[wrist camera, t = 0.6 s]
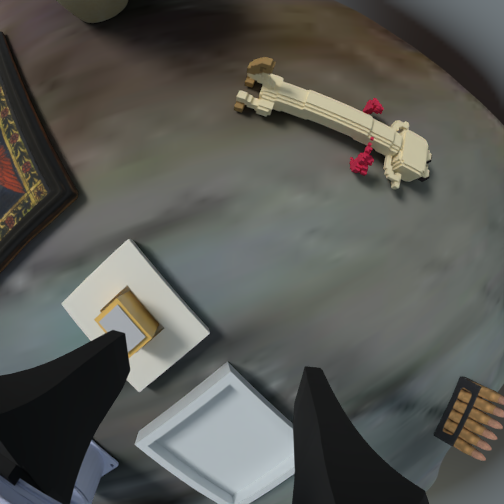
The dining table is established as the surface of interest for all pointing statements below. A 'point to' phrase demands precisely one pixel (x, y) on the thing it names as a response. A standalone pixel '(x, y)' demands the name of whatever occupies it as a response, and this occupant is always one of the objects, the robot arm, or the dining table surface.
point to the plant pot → (94, 9)
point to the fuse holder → (152, 298)
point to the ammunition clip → (470, 417)
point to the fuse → (128, 321)
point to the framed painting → (25, 166)
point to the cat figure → (341, 123)
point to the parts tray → (223, 440)
